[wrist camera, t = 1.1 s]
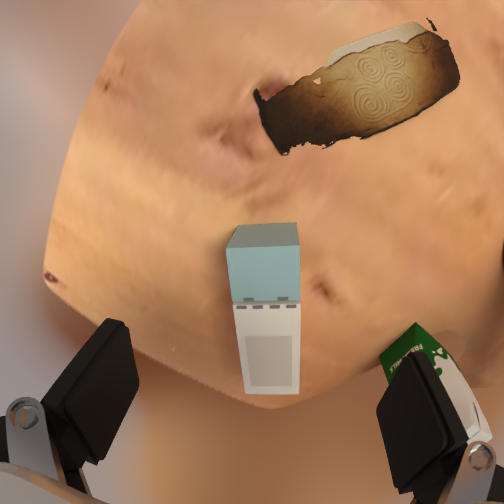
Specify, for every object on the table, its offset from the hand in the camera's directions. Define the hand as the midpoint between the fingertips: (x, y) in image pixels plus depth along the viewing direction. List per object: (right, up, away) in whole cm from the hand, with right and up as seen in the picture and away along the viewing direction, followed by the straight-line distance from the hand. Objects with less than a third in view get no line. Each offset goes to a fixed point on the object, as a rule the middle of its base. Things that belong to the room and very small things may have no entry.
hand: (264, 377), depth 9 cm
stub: (+1, +5, +22) cm, 22 cm away
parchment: (+12, +21, +15) cm, 29 cm away
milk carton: (+22, -9, +25) cm, 34 cm away
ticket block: (+2, -4, +25) cm, 25 cm away
